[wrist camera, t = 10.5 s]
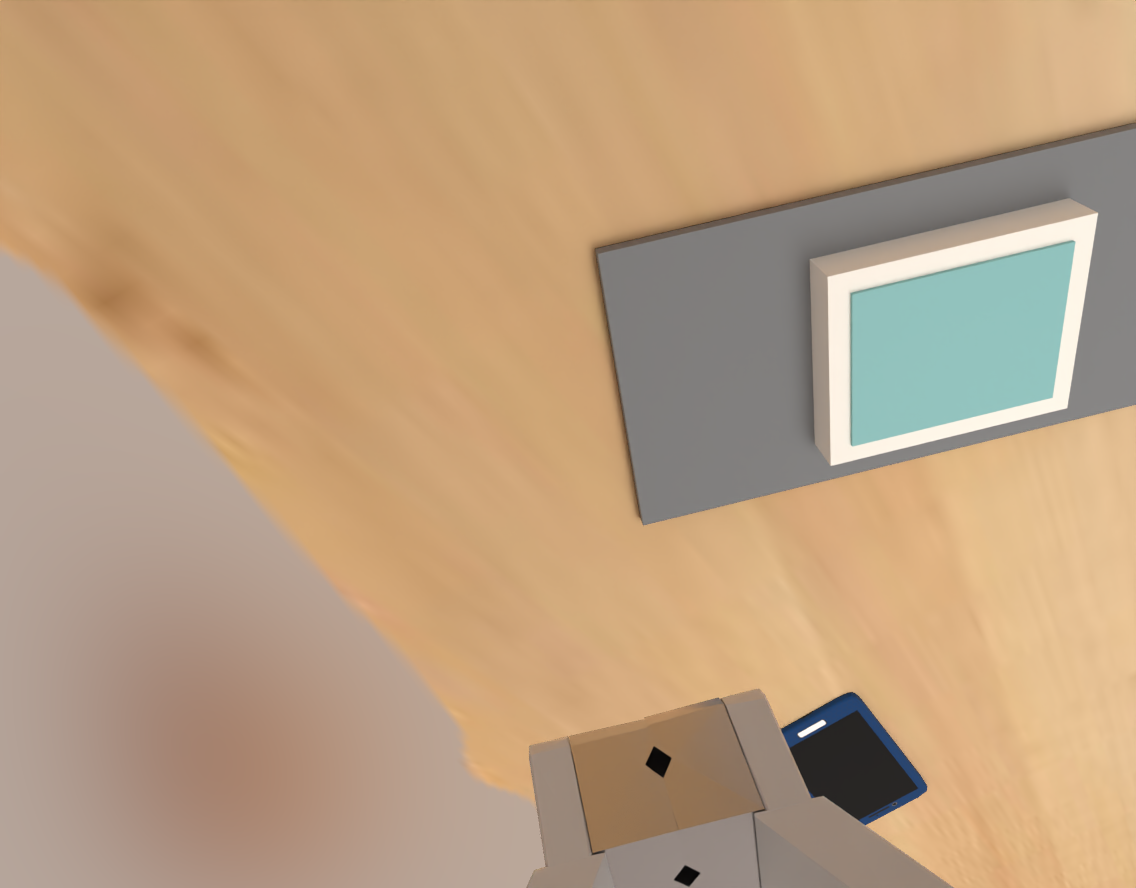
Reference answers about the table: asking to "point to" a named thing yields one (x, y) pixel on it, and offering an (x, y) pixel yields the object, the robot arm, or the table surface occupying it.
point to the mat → (783, 319)
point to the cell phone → (852, 760)
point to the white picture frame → (948, 329)
